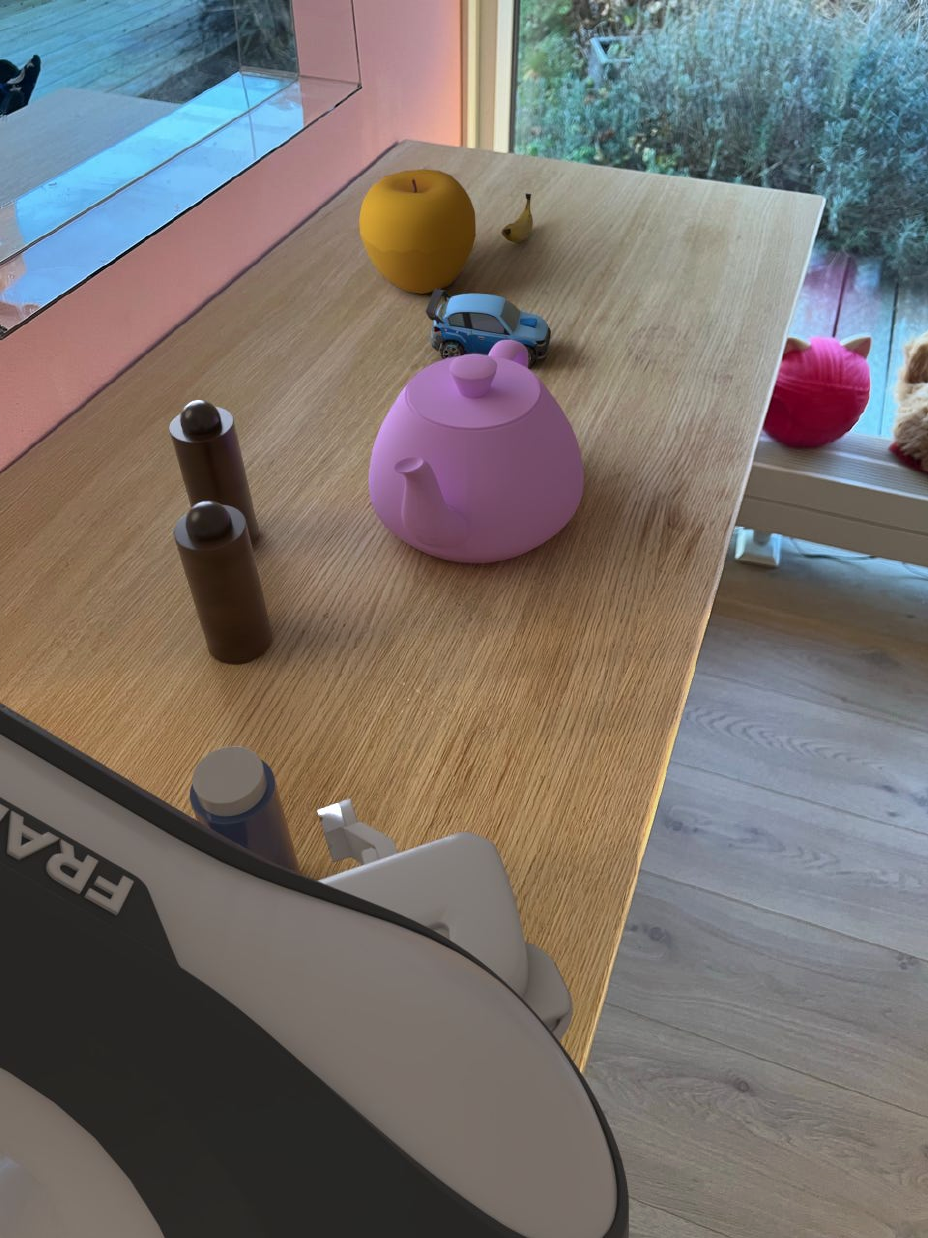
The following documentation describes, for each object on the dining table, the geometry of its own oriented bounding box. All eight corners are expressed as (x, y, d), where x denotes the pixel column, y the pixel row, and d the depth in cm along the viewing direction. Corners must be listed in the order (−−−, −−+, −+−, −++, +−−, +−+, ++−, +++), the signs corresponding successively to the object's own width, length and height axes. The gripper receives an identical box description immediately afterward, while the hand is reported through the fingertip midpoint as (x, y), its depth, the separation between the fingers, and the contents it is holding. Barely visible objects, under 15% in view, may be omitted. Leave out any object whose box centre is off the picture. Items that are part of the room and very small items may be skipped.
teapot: (429, 415, 95) (421, 278, 85) (612, 450, 90) (625, 309, 80) (310, 587, 78) (283, 443, 69) (526, 641, 74) (530, 494, 64)
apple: (345, 295, 112) (332, 192, 104) (396, 246, 120) (389, 147, 112) (450, 316, 108) (445, 210, 100) (496, 264, 116) (495, 162, 108)
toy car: (545, 371, 100) (547, 319, 95) (427, 363, 101) (424, 311, 97) (552, 341, 104) (553, 289, 100) (438, 334, 105) (435, 283, 101)
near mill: (194, 651, 74) (151, 516, 65) (233, 610, 77) (197, 475, 68) (247, 672, 72) (211, 537, 63) (285, 629, 75) (255, 494, 66)
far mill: (188, 544, 82) (149, 412, 73) (223, 510, 85) (190, 379, 76) (236, 561, 81) (202, 428, 72) (270, 526, 84) (241, 394, 75)
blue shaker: (215, 910, 59) (166, 790, 50) (258, 852, 62) (219, 728, 53) (277, 941, 57) (237, 823, 49) (318, 880, 60) (287, 757, 52)
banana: (517, 262, 116) (517, 228, 113) (497, 260, 117) (497, 226, 114) (538, 225, 123) (539, 192, 120) (519, 223, 124) (519, 191, 121)
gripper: (587, 984, 31) (452, 717, 42) (-112, 1250, 27) (-57, 879, 38) (599, 1095, 34) (471, 822, 45) (-17, 1344, 30) (8, 980, 42)
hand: (226, 850), depth 42 cm, fingers open, 8 cm apart
